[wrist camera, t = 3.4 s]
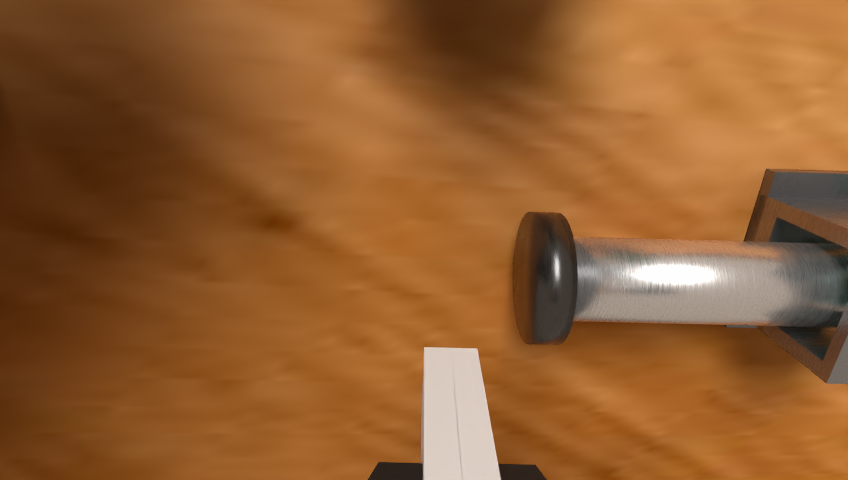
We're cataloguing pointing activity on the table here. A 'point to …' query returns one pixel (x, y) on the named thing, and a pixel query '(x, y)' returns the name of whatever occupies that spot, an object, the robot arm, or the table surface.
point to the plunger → (669, 281)
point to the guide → (806, 223)
